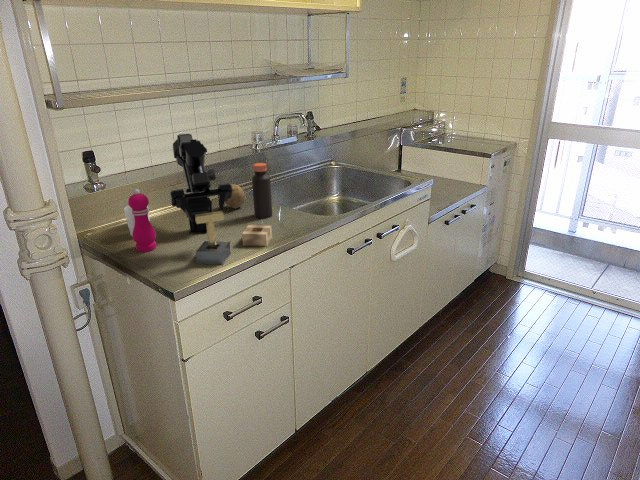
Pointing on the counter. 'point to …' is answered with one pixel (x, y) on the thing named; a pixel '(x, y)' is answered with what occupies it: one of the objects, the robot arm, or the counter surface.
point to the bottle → (261, 191)
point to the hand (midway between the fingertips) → (207, 218)
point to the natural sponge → (236, 197)
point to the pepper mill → (142, 223)
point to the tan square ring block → (257, 235)
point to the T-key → (210, 225)
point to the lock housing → (213, 253)
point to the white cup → (131, 218)
